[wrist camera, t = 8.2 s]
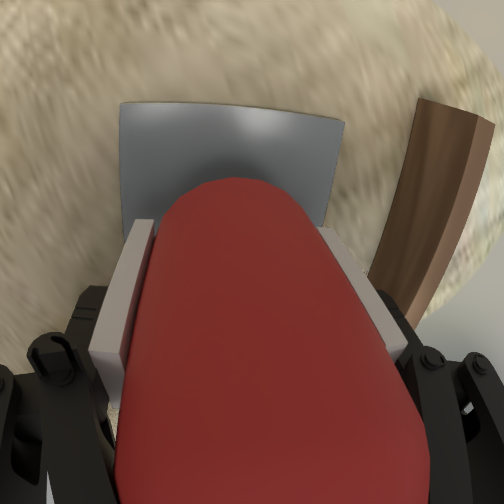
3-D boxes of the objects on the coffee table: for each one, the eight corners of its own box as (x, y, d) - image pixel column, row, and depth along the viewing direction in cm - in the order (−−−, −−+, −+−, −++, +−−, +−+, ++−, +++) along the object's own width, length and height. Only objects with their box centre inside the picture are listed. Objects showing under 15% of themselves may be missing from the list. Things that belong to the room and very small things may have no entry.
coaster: (132, 285, 18) (130, 292, 18) (123, 102, 13) (119, 104, 12) (301, 289, 20) (304, 294, 20) (340, 120, 15) (345, 122, 14)
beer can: (338, 225, 13) (497, 492, 3) (250, 322, 16) (298, 564, 6) (210, 138, 11) (260, 633, 1) (131, 267, 13) (83, 565, 3)
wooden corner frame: (88, 309, 19) (70, 365, 15) (62, 61, 11) (9, 63, 7) (370, 310, 23) (397, 358, 19) (436, 105, 15) (495, 124, 10)
